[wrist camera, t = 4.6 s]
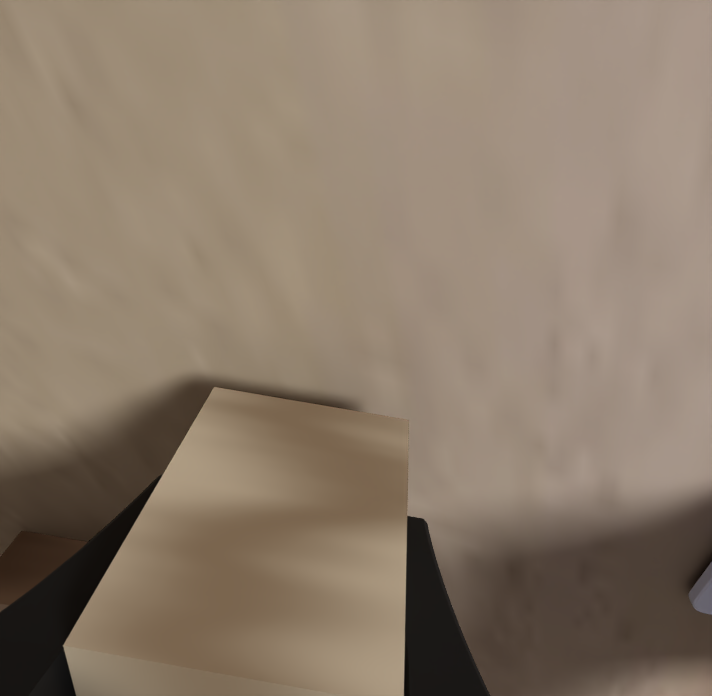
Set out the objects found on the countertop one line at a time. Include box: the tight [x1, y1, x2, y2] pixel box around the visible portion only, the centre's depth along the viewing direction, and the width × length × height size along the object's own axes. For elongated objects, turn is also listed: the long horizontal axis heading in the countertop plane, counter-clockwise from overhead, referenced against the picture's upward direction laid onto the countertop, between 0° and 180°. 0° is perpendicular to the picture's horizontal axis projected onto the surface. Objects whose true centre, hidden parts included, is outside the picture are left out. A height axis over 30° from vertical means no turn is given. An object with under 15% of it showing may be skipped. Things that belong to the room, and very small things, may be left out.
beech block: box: [63, 387, 409, 696], centre depth 11 cm, size 4×4×6 cm
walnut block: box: [0, 531, 88, 612], centre depth 20 cm, size 11×11×3 cm
